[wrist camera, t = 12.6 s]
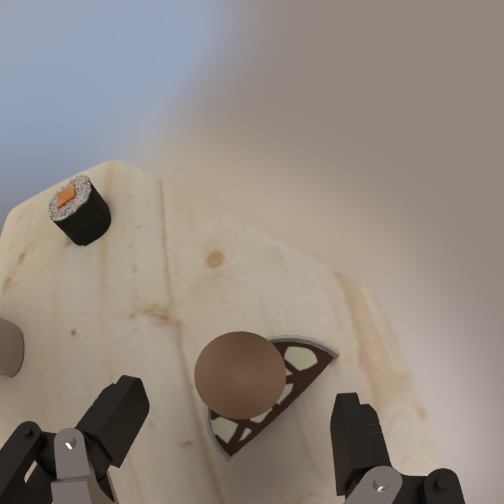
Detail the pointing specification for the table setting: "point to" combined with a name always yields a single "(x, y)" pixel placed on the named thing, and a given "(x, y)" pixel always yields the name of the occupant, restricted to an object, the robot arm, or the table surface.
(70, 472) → the robot arm
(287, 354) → the food container
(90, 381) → the table surface
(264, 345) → the walnut cylinder
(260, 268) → the table surface
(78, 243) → the sushi
